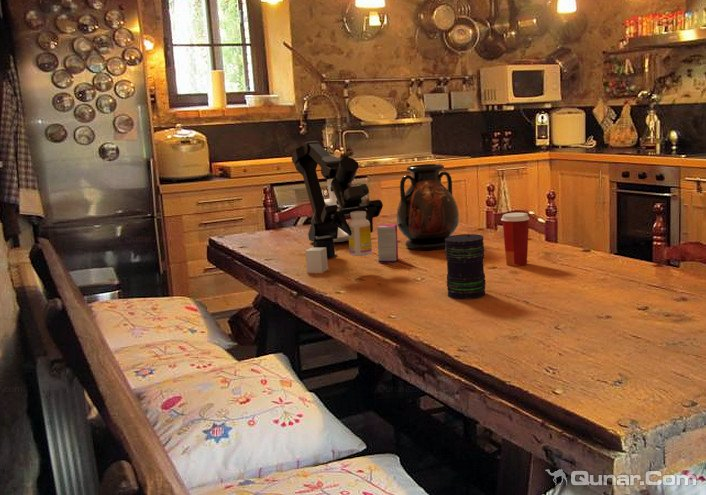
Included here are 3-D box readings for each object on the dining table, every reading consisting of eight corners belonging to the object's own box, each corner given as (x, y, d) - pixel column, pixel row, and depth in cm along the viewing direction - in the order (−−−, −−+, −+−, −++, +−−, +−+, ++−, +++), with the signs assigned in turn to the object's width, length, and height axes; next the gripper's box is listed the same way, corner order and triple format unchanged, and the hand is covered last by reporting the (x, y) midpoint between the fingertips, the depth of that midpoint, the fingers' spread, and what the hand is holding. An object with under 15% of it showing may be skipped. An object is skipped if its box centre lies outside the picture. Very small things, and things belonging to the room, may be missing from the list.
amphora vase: (444, 238, 278) (440, 161, 273) (471, 247, 258) (468, 164, 253) (389, 245, 271) (384, 166, 266) (412, 255, 251) (408, 170, 246)
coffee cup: (533, 261, 229) (532, 212, 226) (527, 267, 222) (526, 216, 219) (505, 260, 233) (504, 212, 230) (499, 266, 225) (497, 216, 223)
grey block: (307, 272, 235) (305, 250, 234) (313, 269, 240) (311, 247, 238) (322, 273, 233) (320, 250, 232) (327, 269, 238) (326, 247, 237)
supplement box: (396, 262, 242) (394, 226, 239) (378, 262, 243) (375, 227, 241) (399, 258, 247) (397, 223, 245) (381, 259, 248) (378, 224, 246)
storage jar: (476, 301, 189) (474, 241, 186) (440, 298, 194) (438, 240, 191) (491, 291, 197) (489, 234, 194) (456, 289, 202) (454, 233, 200)
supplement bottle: (374, 252, 231) (372, 210, 228) (368, 256, 225) (365, 213, 222) (353, 251, 233) (351, 210, 231) (346, 256, 227) (344, 213, 225)
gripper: (321, 179, 224) (338, 220, 217) (378, 172, 232) (397, 212, 224) (314, 202, 233) (330, 243, 225) (369, 196, 240) (386, 235, 232)
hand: (361, 233), depth 226 cm, fingers closed on supplement bottle, 7 cm apart
